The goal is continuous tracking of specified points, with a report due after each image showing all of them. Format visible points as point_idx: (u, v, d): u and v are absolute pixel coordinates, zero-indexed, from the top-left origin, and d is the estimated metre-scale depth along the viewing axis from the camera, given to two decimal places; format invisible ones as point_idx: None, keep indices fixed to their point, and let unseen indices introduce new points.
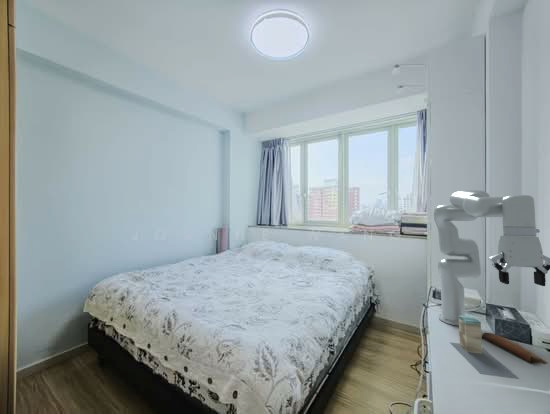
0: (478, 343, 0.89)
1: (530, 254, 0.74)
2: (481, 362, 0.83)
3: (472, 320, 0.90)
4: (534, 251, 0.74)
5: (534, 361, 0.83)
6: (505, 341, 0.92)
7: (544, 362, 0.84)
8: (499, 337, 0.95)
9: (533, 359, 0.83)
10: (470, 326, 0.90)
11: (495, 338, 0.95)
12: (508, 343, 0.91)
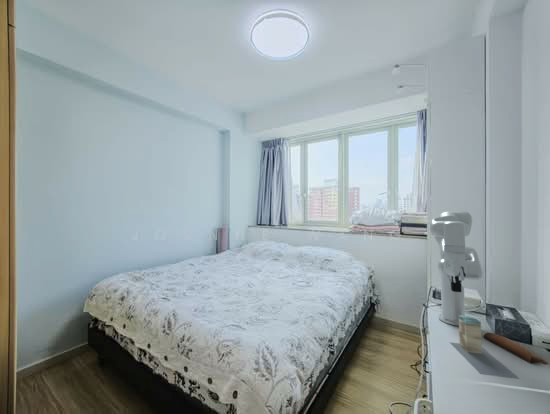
0: (478, 343, 0.89)
1: None
2: (481, 362, 0.83)
3: (472, 320, 0.90)
4: None
5: (534, 361, 0.83)
6: (506, 340, 0.92)
7: (545, 362, 0.83)
8: (501, 337, 0.95)
9: (533, 359, 0.83)
10: (470, 326, 0.90)
11: (497, 338, 0.95)
12: (509, 343, 0.91)
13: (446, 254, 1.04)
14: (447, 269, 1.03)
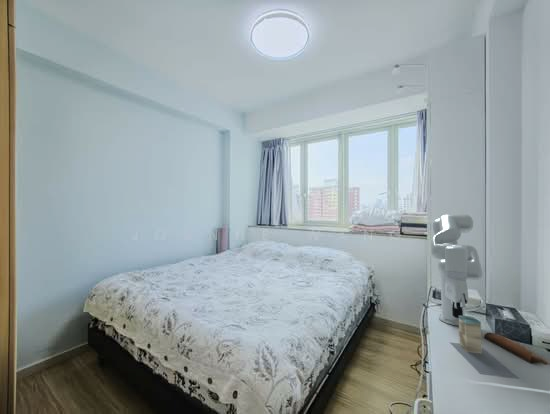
0: (478, 343, 0.89)
1: None
2: (481, 362, 0.83)
3: (472, 320, 0.90)
4: None
5: (534, 361, 0.83)
6: (507, 340, 0.92)
7: (546, 363, 0.83)
8: (501, 337, 0.95)
9: (533, 359, 0.83)
10: (470, 326, 0.90)
11: (497, 338, 0.95)
12: (510, 343, 0.91)
13: (447, 279, 1.03)
14: (448, 294, 1.02)
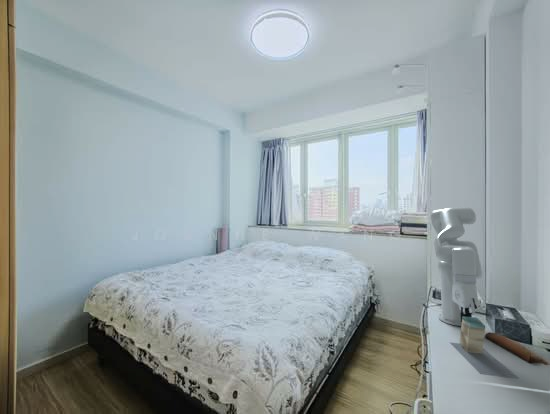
0: (479, 344, 0.88)
1: None
2: (481, 362, 0.83)
3: (476, 323, 0.88)
4: None
5: (533, 361, 0.83)
6: (507, 340, 0.92)
7: (545, 363, 0.83)
8: (502, 337, 0.95)
9: (532, 359, 0.83)
10: (474, 329, 0.88)
11: (498, 338, 0.95)
12: (509, 343, 0.91)
13: (455, 282, 0.97)
14: (456, 299, 0.96)
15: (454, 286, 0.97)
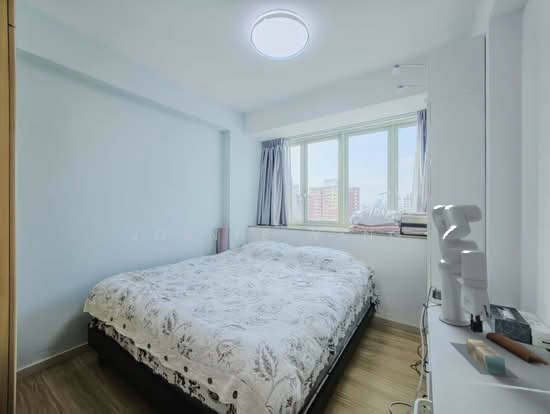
0: None
1: None
2: None
3: (497, 370, 0.77)
4: None
5: (533, 360, 0.83)
6: (507, 340, 0.92)
7: (545, 363, 0.83)
8: (502, 337, 0.95)
9: (531, 359, 0.83)
10: None
11: (498, 338, 0.95)
12: (510, 343, 0.91)
13: (464, 287, 0.90)
14: (466, 305, 0.89)
15: (463, 291, 0.91)
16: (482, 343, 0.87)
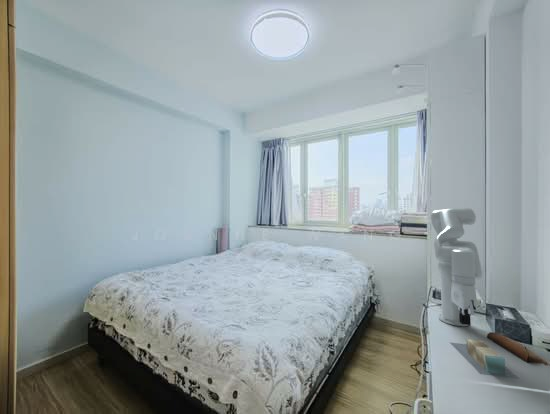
0: None
1: None
2: None
3: (497, 370, 0.77)
4: None
5: (532, 360, 0.83)
6: (507, 340, 0.92)
7: (545, 363, 0.83)
8: (503, 337, 0.95)
9: (530, 359, 0.83)
10: None
11: (499, 338, 0.95)
12: (510, 343, 0.91)
13: (454, 284, 0.98)
14: (455, 300, 0.97)
15: (453, 287, 0.98)
16: (482, 343, 0.87)
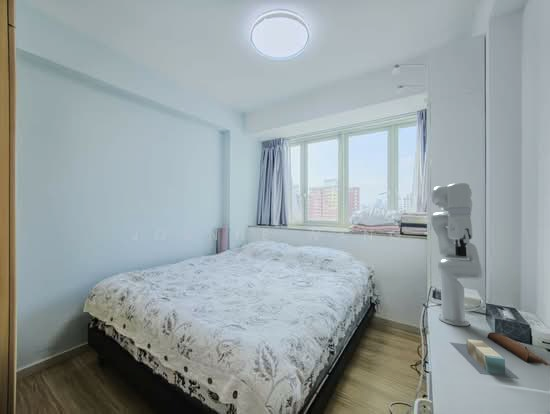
0: None
1: None
2: None
3: (497, 370, 0.77)
4: None
5: (532, 360, 0.83)
6: (508, 340, 0.92)
7: (545, 363, 0.83)
8: (503, 337, 0.95)
9: (530, 359, 0.83)
10: None
11: (499, 338, 0.95)
12: (510, 343, 0.91)
13: (450, 218, 0.99)
14: (451, 233, 0.98)
15: (449, 222, 1.00)
16: (482, 343, 0.87)
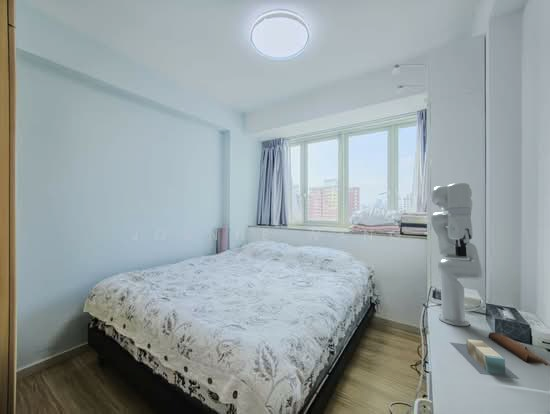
0: None
1: None
2: None
3: (497, 370, 0.77)
4: None
5: (531, 360, 0.83)
6: (508, 340, 0.92)
7: (545, 364, 0.83)
8: (504, 337, 0.95)
9: (529, 359, 0.83)
10: None
11: (499, 338, 0.95)
12: (510, 343, 0.91)
13: (450, 218, 0.99)
14: (451, 233, 0.98)
15: (449, 222, 1.00)
16: (482, 343, 0.87)
